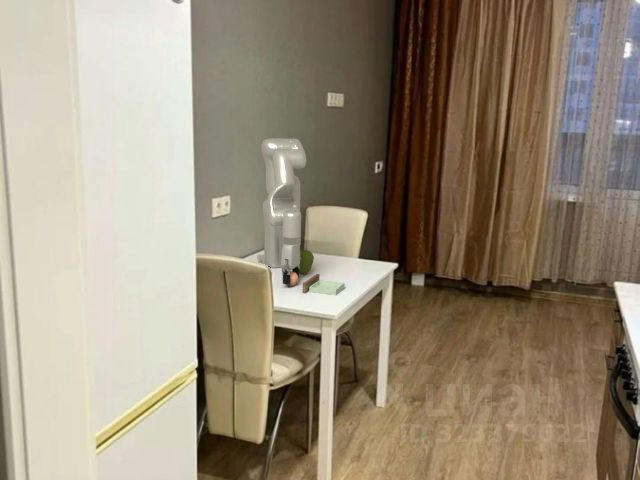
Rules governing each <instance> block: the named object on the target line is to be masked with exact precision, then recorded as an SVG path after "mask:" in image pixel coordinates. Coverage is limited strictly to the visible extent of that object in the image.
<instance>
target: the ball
mask: <svg viewBox="0 0 640 480" xmlns="http://www.w3.org/2000/svg"><path fill="white" fill-rule="evenodd" d="M289 275H290V284H286V285H287V286H290V287H292V286H295V285H296V284H298V282H299V279H298V275H297V274H296V273H295V272H292V270H291V271H290V274H289Z"/></svg>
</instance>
